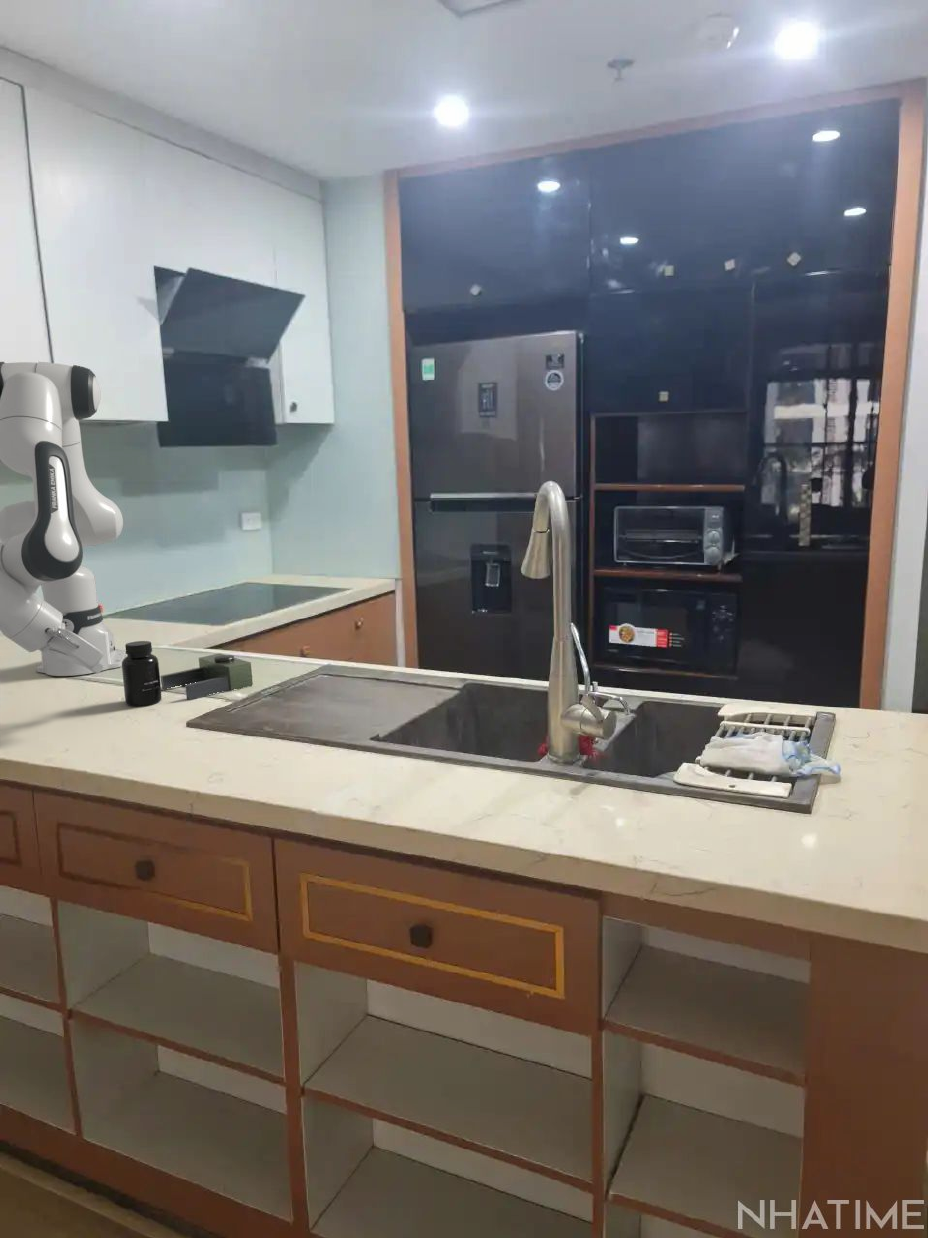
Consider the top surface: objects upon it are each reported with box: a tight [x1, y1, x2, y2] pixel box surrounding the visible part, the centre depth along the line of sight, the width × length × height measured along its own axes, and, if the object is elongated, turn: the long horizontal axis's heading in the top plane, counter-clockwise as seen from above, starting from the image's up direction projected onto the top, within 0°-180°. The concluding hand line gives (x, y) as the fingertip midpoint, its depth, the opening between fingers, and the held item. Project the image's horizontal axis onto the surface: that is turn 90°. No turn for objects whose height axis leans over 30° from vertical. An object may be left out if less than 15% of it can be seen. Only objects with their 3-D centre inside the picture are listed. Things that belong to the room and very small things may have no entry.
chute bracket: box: [160, 653, 254, 701], centre depth 183 cm, size 14×13×6 cm
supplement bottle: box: [121, 640, 163, 707], centre depth 173 cm, size 7×7×12 cm
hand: (98, 669), depth 167 cm, fingers closed
